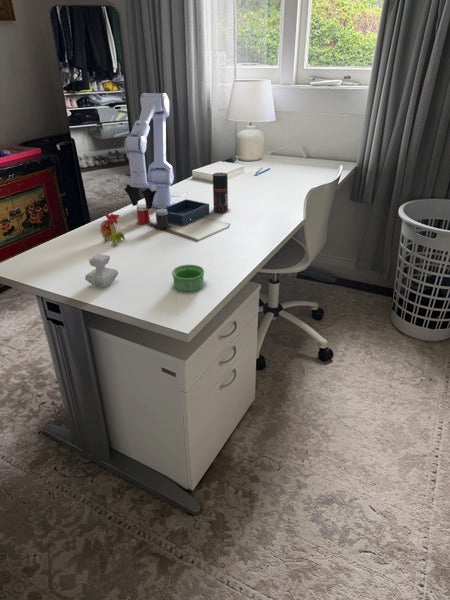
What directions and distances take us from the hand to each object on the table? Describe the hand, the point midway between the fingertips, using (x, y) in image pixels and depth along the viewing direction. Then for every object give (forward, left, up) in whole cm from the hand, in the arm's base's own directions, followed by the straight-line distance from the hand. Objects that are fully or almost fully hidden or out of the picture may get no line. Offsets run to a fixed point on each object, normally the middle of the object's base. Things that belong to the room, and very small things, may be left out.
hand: (142, 206), depth 162 cm
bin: (+9, +14, -6) cm, 18 cm away
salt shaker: (0, 0, -6) cm, 6 cm away
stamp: (+27, -44, -6) cm, 52 cm away
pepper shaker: (+10, 0, -6) cm, 12 cm away
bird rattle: (+5, -21, -6) cm, 22 cm away
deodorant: (+17, +28, -6) cm, 33 cm away
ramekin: (+48, -31, -6) cm, 57 cm away
